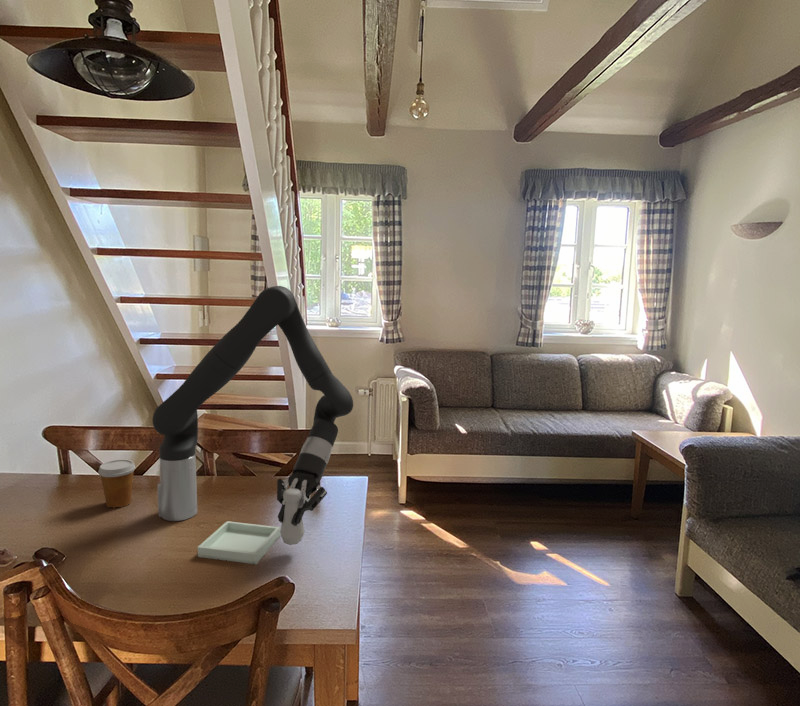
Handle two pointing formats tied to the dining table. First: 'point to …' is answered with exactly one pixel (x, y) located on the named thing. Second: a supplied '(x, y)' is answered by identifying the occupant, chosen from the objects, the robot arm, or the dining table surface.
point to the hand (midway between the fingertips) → (287, 523)
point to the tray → (239, 542)
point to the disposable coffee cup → (117, 482)
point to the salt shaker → (288, 530)
